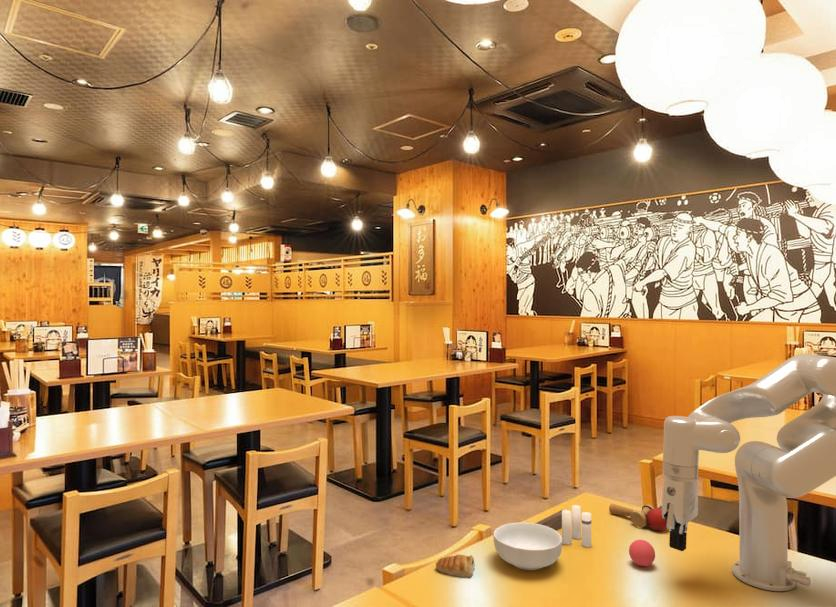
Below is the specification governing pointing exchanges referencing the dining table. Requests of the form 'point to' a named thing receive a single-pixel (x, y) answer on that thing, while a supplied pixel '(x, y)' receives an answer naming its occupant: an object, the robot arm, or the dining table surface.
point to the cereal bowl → (528, 545)
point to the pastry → (457, 565)
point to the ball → (642, 552)
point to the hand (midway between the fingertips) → (677, 548)
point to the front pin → (586, 529)
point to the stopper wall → (552, 521)
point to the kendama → (642, 516)
